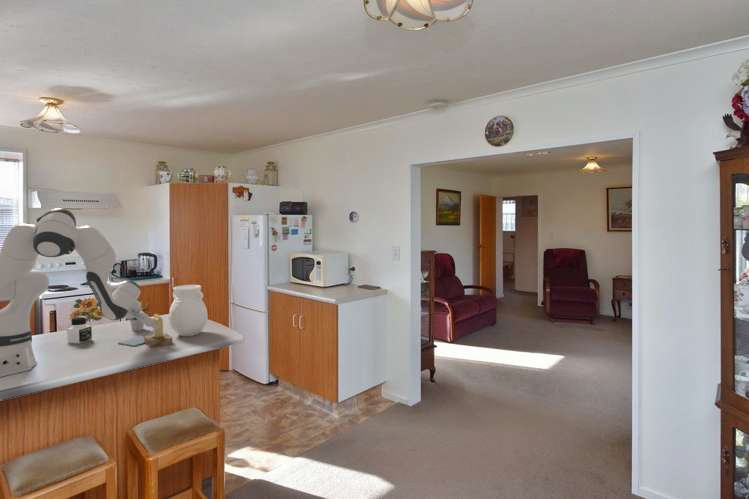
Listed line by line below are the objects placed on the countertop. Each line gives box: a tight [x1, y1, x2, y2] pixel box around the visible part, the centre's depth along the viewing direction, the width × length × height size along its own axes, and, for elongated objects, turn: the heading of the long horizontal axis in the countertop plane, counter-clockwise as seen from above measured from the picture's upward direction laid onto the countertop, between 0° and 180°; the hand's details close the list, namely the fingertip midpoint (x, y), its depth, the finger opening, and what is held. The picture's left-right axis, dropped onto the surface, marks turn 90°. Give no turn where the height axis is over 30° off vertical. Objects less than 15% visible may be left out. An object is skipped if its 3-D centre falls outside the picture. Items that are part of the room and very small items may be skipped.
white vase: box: [168, 284, 209, 337], centre depth 222 cm, size 19×18×25 cm
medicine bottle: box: [66, 315, 93, 345], centre depth 208 cm, size 7×7×12 cm
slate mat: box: [117, 336, 146, 347], centre depth 208 cm, size 11×11×1 cm
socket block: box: [143, 332, 173, 348], centre depth 206 cm, size 10×10×3 cm
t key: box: [152, 313, 164, 339], centre depth 206 cm, size 4×8×14 cm, turn 40°
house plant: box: [129, 301, 151, 332], centre depth 228 cm, size 14×14×16 cm
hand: (155, 326), depth 205 cm, fingers open, 8 cm apart
